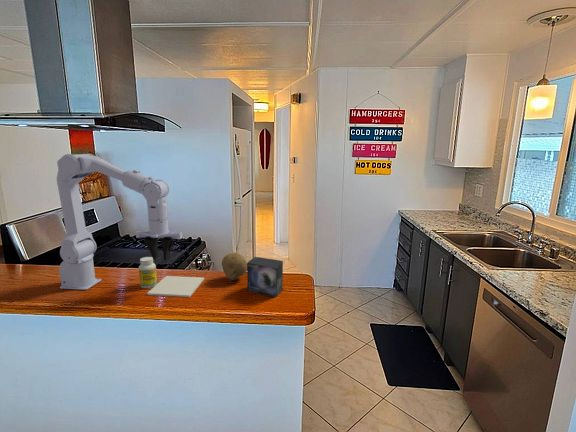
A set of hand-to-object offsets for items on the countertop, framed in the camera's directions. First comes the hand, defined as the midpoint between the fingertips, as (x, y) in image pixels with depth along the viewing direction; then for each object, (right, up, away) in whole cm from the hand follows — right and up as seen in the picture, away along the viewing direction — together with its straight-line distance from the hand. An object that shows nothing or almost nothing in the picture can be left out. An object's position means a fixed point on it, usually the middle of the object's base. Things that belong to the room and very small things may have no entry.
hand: (161, 259), depth 105 cm
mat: (+4, -10, +4) cm, 11 cm away
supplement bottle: (-6, -10, +5) cm, 12 cm away
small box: (+34, -11, +2) cm, 36 cm away
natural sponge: (+23, -9, +10) cm, 26 cm away
